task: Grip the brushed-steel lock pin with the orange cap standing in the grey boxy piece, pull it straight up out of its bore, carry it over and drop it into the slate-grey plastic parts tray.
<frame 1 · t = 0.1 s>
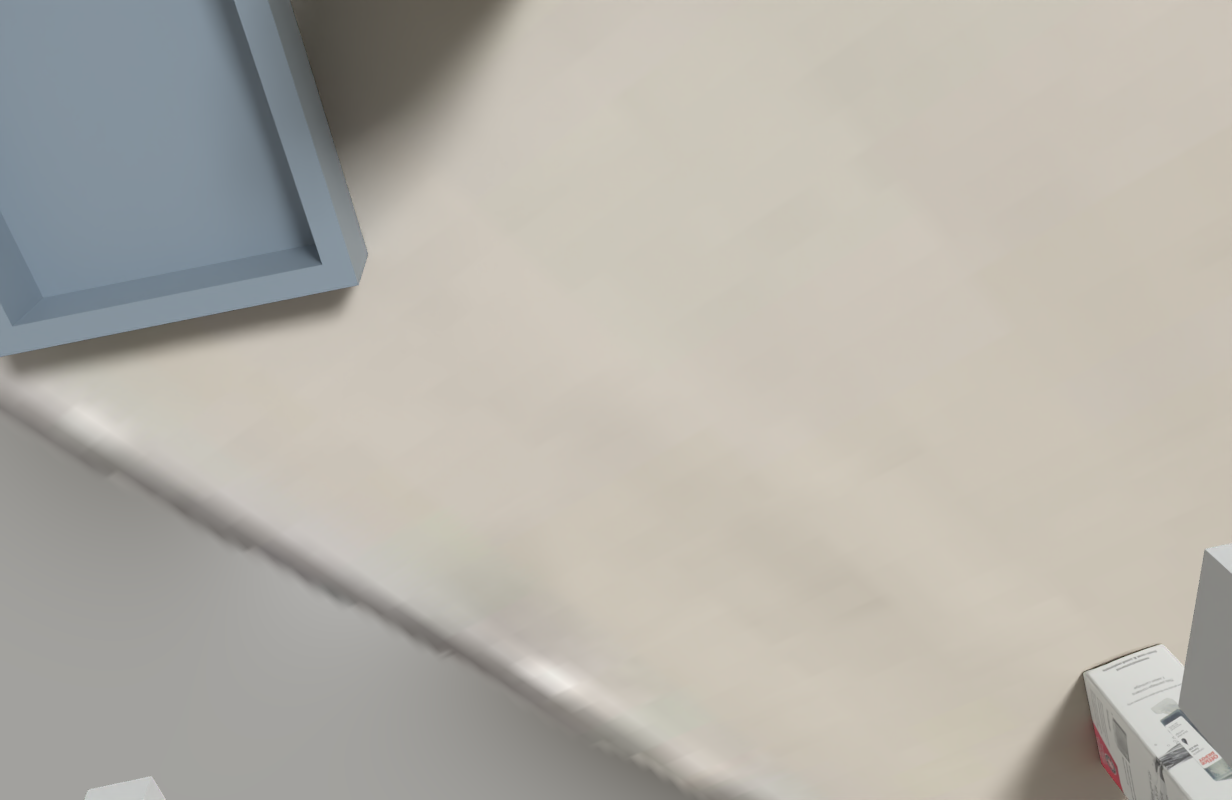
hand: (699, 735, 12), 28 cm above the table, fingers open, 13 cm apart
parts tray: (117, 75, 33), on the table
ink box: (1129, 700, 55), on the table
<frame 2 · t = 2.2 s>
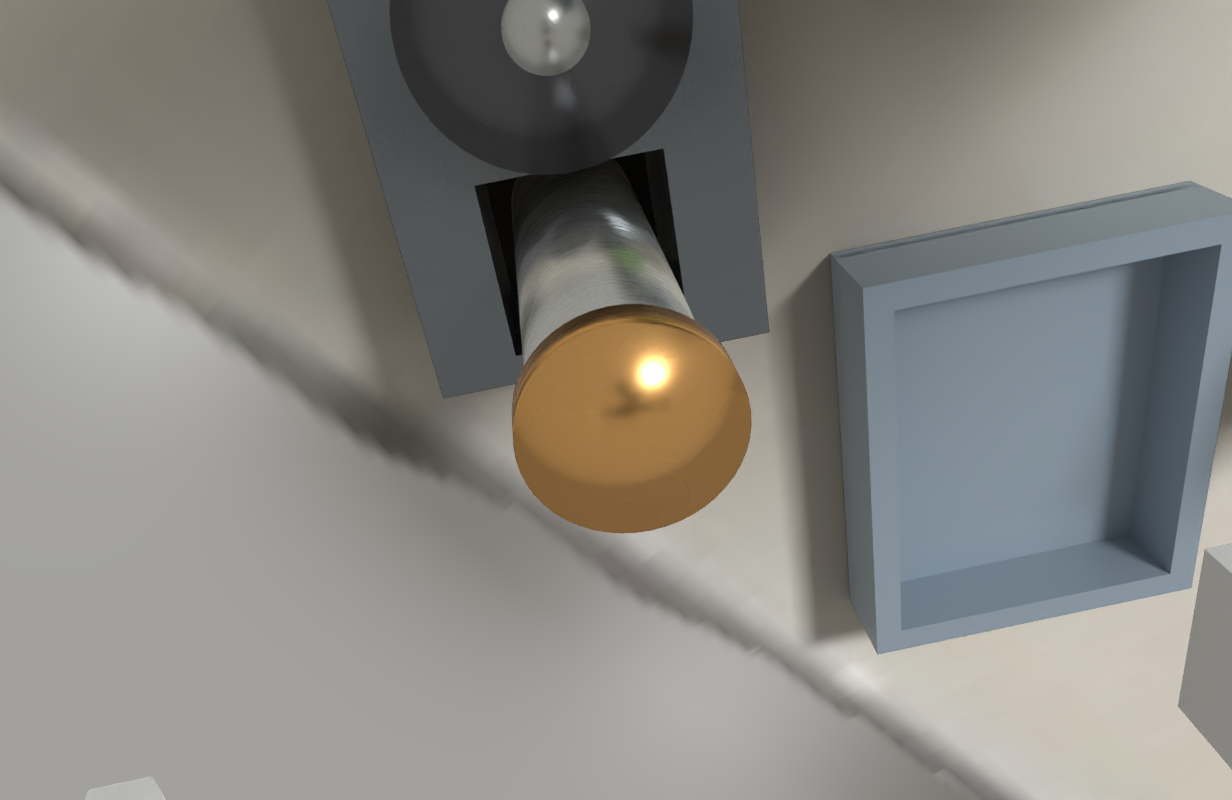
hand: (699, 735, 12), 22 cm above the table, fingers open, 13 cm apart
parts tray: (1003, 411, 37), on the table
grey boxy piece: (551, 96, 30), on the table
lock pin: (572, 204, 31), resting in grey boxy piece
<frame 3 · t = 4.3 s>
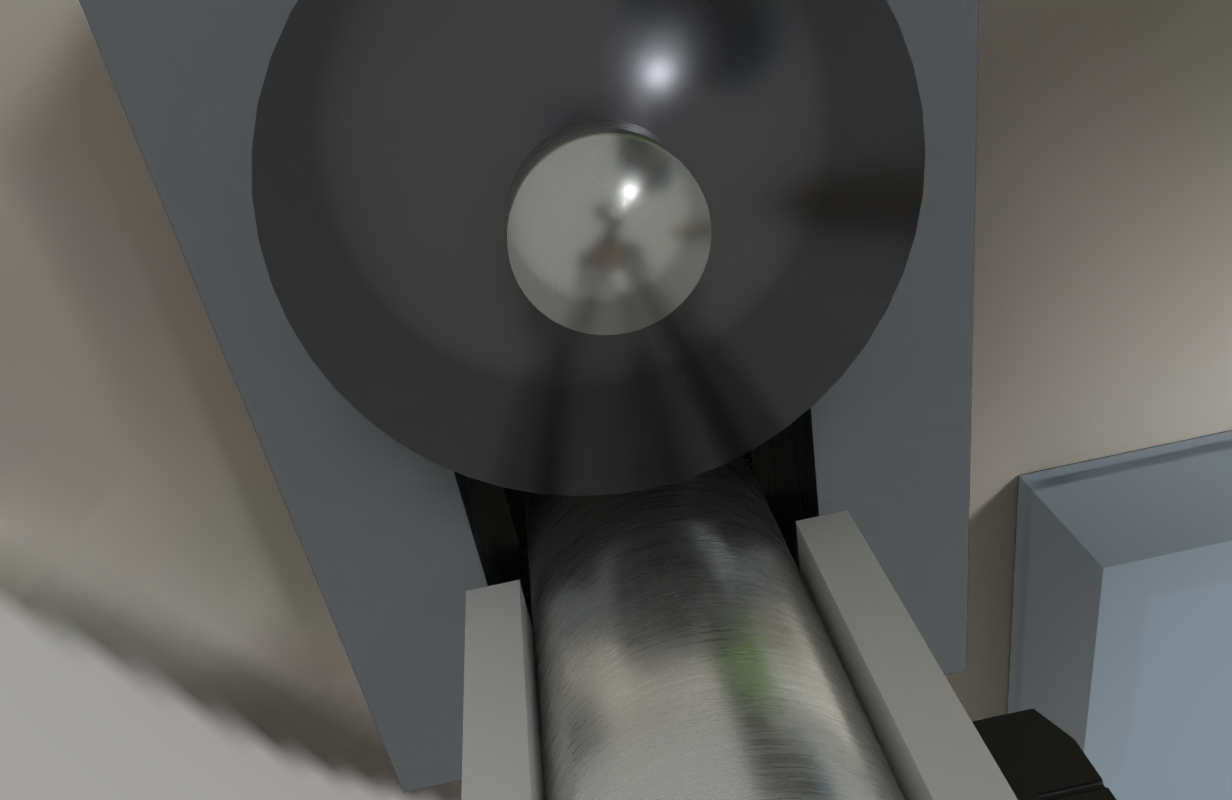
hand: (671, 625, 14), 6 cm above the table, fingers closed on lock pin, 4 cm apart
grey boxy piece: (587, 257, 18), on the table
lock pin: (618, 419, 19), resting in grey boxy piece, touching gripper
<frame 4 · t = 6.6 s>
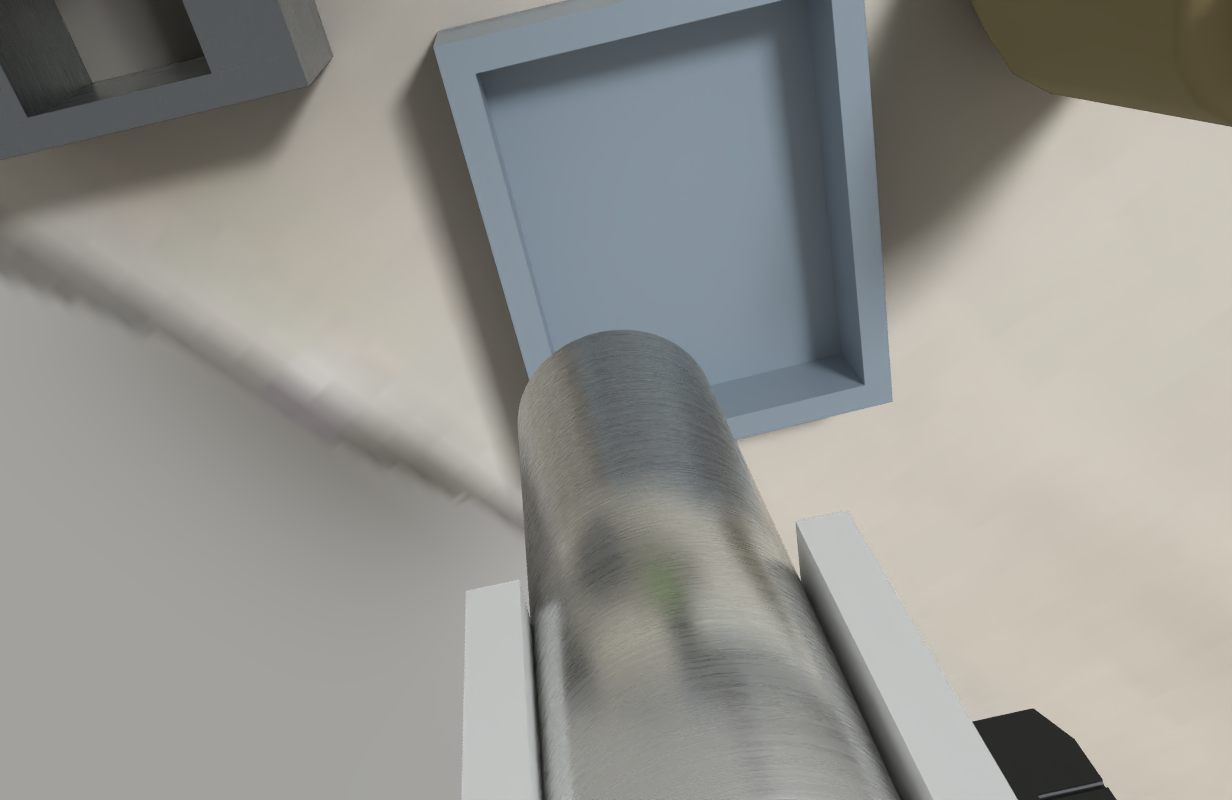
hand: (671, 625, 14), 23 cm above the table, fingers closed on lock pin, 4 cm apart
parts tray: (674, 215, 35), on the table
lock pin: (616, 420, 19), point 17 cm above the table, touching gripper
when the fingers open (8 cm above the table, at t = 8.9 s): lock pin stays where it is, resting on parts tray.
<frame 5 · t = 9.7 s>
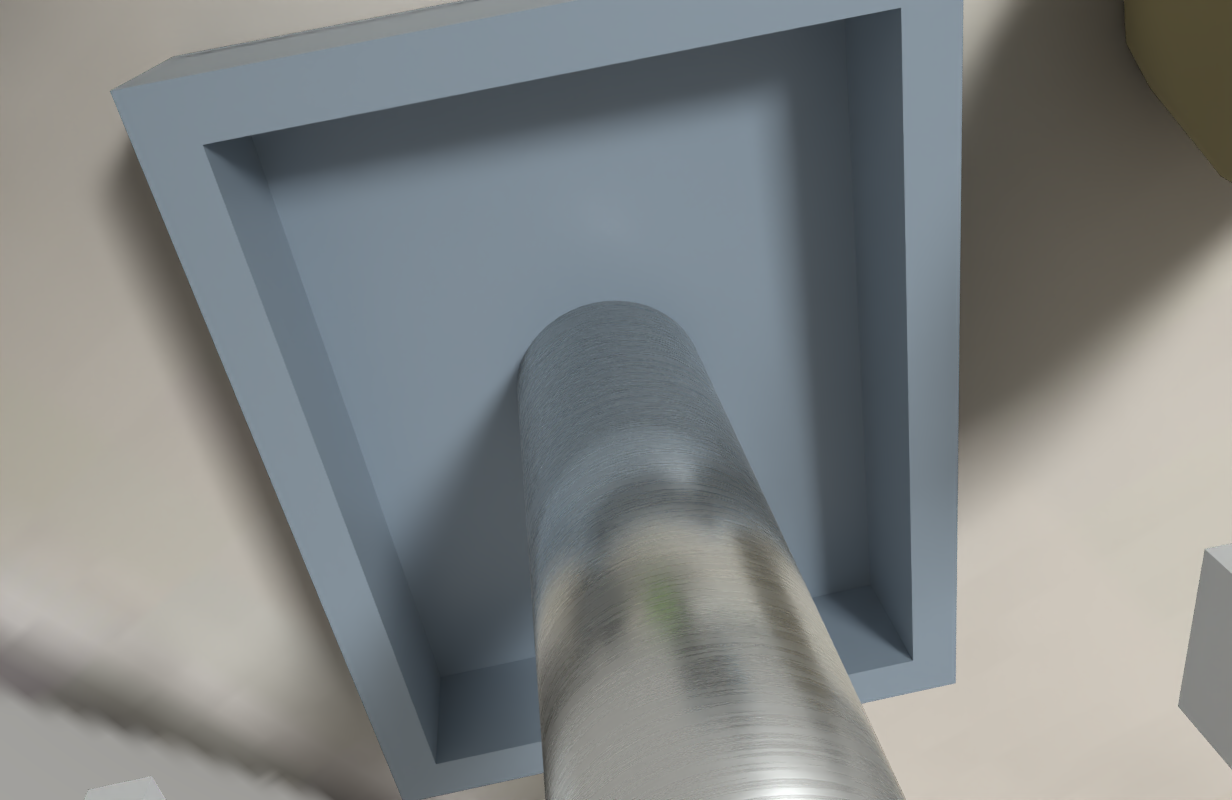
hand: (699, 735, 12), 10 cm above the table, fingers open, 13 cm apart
parts tray: (607, 375, 21), on the table
lock pin: (610, 387, 20), point 1 cm above the table, touching parts tray
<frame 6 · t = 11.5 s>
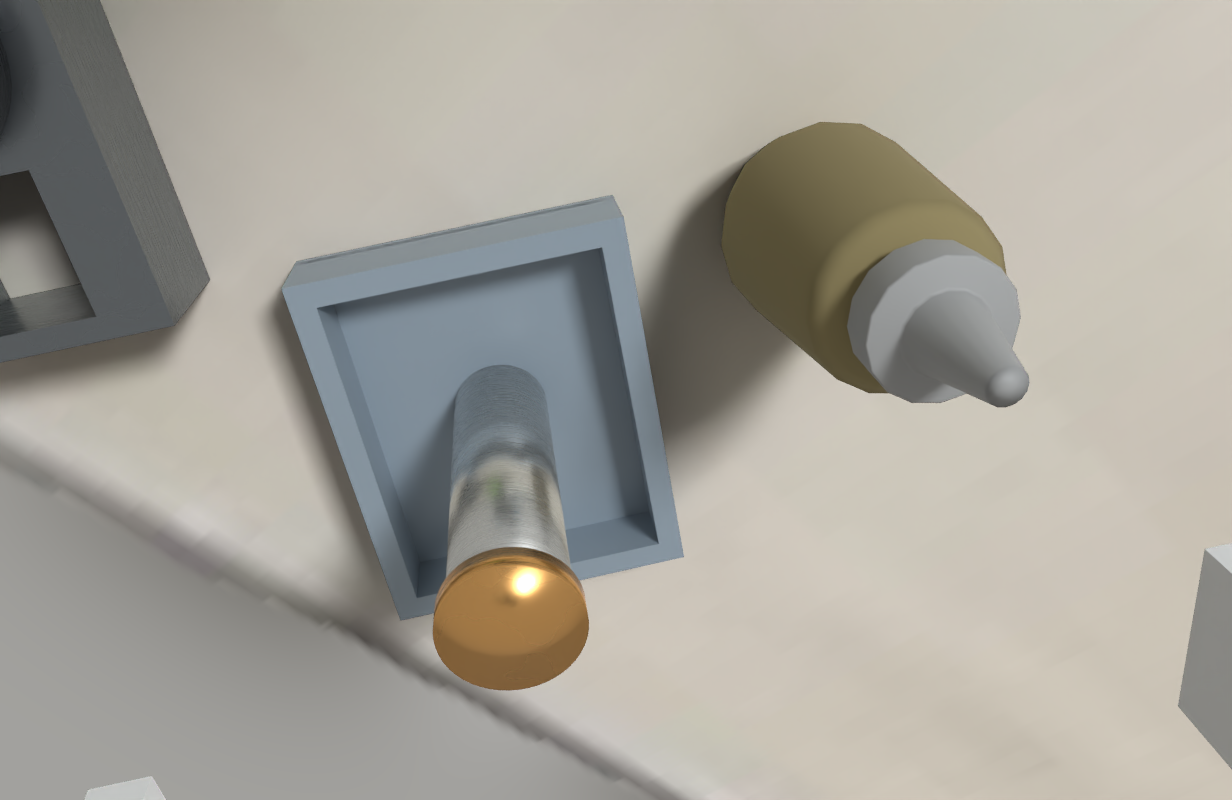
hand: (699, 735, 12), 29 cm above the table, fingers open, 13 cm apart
squeeze bottle: (794, 203, 40), on the table
parts tray: (500, 400, 42), on the table
grey boxy piece: (3, 129, 35), on the table
lock pin: (501, 406, 42), point 1 cm above the table, touching parts tray
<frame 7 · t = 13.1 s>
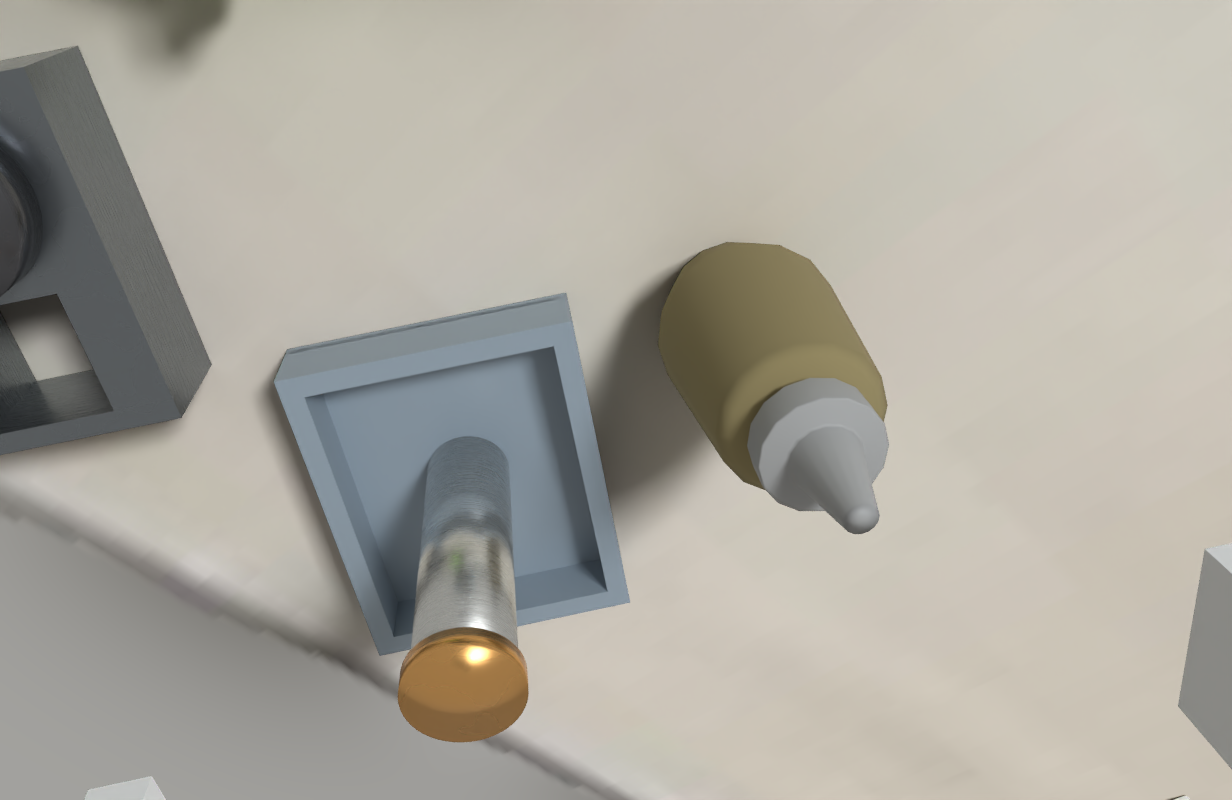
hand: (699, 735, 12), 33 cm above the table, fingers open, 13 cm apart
squeeze bottle: (728, 298, 45), on the table
parts tray: (468, 465, 48), on the table
grey boxy piece: (31, 242, 40), on the table
lock pin: (468, 471, 47), point 1 cm above the table, touching parts tray
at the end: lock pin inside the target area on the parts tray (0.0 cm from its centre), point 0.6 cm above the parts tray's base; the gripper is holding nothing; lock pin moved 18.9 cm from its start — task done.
